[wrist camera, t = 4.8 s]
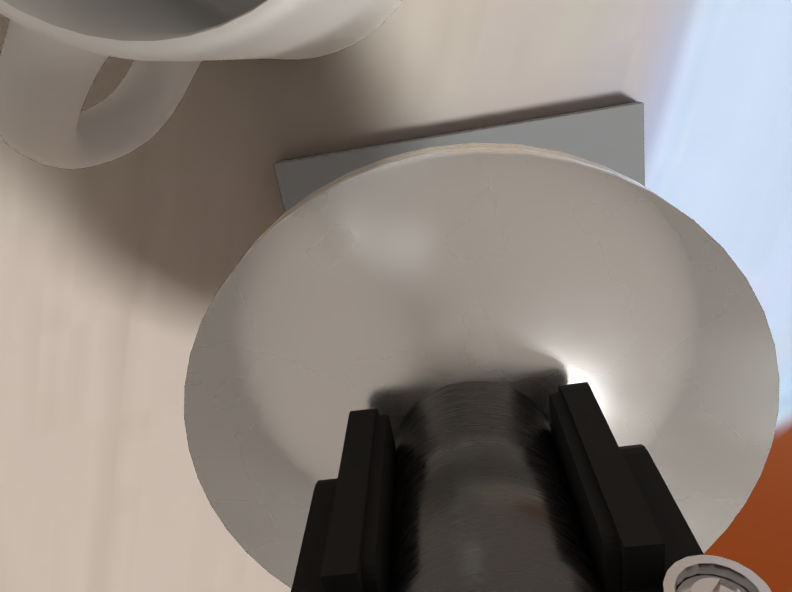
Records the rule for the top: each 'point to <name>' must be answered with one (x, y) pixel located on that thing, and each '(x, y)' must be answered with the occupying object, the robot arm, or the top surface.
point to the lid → (478, 361)
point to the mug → (144, 62)
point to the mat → (570, 133)
